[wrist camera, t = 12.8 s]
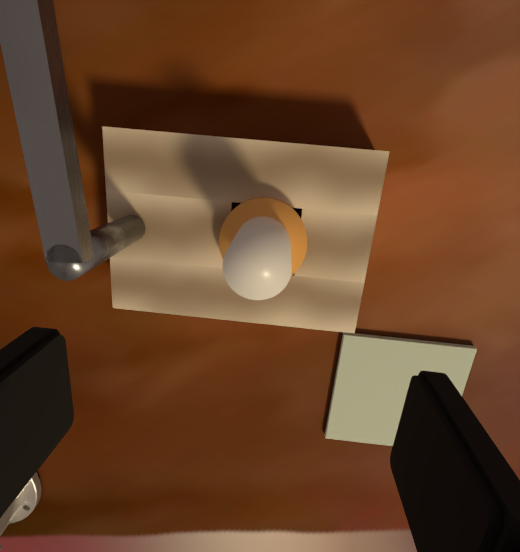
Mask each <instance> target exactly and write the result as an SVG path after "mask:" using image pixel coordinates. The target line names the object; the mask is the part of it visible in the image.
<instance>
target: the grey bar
mask: <svg viewBox="0 0 520 552" xmlns="http://www.w3.org/2000/svg"><path fill="white" fill-rule="evenodd" d="M0 44H1V48H2V53H3V58H4V63H5V68H6V72H7V77H8V82H9V87H10V92H11V96H12V101H13V106H14V111H15V116H16V120H17V125H18V130H19V135H20V140H21V144H22V149H23V154H24V159H25V164H26V168H27V173H28V178H29V183H30V188H31V193H32V197H33V202H34V207H35V212H36V217H37V221H38V226H39V231H40V236H41V241H42V245H43V250H44V255H45V260H46V264H47V267H48V269H49V270H50V272H51V273H52V274H53V275H54V276H56V277H57V278H59V279H61V280H65V281H71V280H74V279H76V278H78V277H80V276H81V275H83V274H84V273H86V272H88V271H89V270H91V269H93V268H94V267H96V266H97V265H99V264H101V263H102V262H104V261H106V260H107V259H109V258H110V257H112V256H114V255H115V254H117V253H119V252H120V251H122V250H123V249H125V248H127V247H128V246H130V245H131V244H133V243H135V242H136V241H138V240H140V239H141V238H142V237H143V236H144V234H145V230H146V229H145V224H144V222H143V221H142V220H141V219H140V218H139V217H138V216H136V215H126V216H124V217H122V218H119V219H117V220H114V221H112V222H110V223H107V224H105V225H102V226H100V227H98V228H95V229H93V230H90V228H89V222H88V215H87V209H86V203H85V197H84V191H83V184H82V178H81V172H80V166H79V160H78V154H77V147H76V141H75V135H74V129H73V123H72V116H71V110H70V104H69V98H68V92H67V85H66V79H65V73H64V67H63V61H62V55H61V48H60V42H59V36H58V30H57V24H56V17H55V11H54V5H53V0H0Z"/></svg>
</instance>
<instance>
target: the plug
mask: <svg viewBox="0 0 520 552" xmlns="http://www.w3.org/2000/svg"><path fill="white" fill-rule="evenodd" d="M219 247H220V252H221V256H222V258H223V274H224V278H225V280H226V282H227V284H228V285H229V286H230V288H231V289H232V290H233V291H234V292H236V293H237V294H238V295H240V296H242V297H244V298H247V299H250V300H265V299H269V298H272V297H274V296H276V295H277V294H279V293H280V292H281V291H282V290H283V289H284V288H285V287H286V285H287V284H288V282H289V280H290V277H291V276H292V275H293V274H294V273H295V272H296V271H297V270H298V269H299V267H300V266H301V264H302V262H303V260H304V258H305V255H306V251H307V234H306V230H305V226H304V224H303V221H302V219H301V217H300V216H299V215H298V213H297V212H296V211H295V210H294V209H293V208H292V207H291V206H290V205H288V204H287V203H285V202H283V201H281V200H279V199H275V198H271V197H256V198H252V199H249V200H246V201H244V202H242V203H241V204H239V205H238V206H237V207H235V208H234V209H233V210H232V211H231V213H230V214H229V215H228V216H227V218H226V219H225V221H224V223H223V225H222V227H221V231H220V235H219Z"/></svg>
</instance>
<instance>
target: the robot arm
mask: <svg viewBox="0 0 520 552" xmlns="http://www.w3.org/2000/svg"><path fill="white" fill-rule="evenodd" d="M73 419H74V411H73V402H72V394H71V385H70V377H69V368H68V359H67V351H66V342H65V338H64V336H62V335H60V333H59V331H58V330H56V329H50V328H41V327H33V328H31V329H29V330H28V331H26V332H25V333H23V334H22V335H21V336H19V337H18V338H16V339H15V340H13V341H12V342H11V343H9V344H8V345H6V346H5V347H4V348H2V349H1V350H0V535H1V534H2V533H3V531H4V530H5V529H6V527H7V526H8V525H9V523H14V522H17V521H20V520H22V519H24V518H26V517H27V516H28V515H29V514H30V513H31V512H32V511H33V510H34V508H35V507H36V505H37V504H38V502H39V500H40V497H41V490H42V489H41V483H40V479H39V477H38V474H37V470H38V469H39V468H40V466H41V465H42V464H43V463H44V461H45V460H46V459H47V457H48V456H49V455H50V454H51V452H52V451H53V450H54V448H55V447H56V446H57V444H58V443H59V442H60V441H61V439H62V438H63V437H64V435H65V434H66V433H67V432H68V430H69V429H70V427H71V425H72V423H73ZM390 464H391V469H392V473H393V476H394V479H395V482H396V485H397V489H398V492H399V495H400V498H401V501H402V505H403V508H404V511H405V514H406V517H407V520H408V524H409V527H410V530H411V533H412V536H413V539H414V542H415V546H416V549H417V552H520V480H519V479H518V477H517V476H516V474H515V473H514V471H513V470H512V469H511V467H510V466H509V464H508V463H507V461H506V460H505V458H504V457H503V455H502V454H501V453H500V451H499V450H498V448H497V447H496V445H495V444H494V442H493V441H492V439H491V438H490V437H489V435H488V434H487V432H486V431H485V429H484V428H483V426H482V425H481V424H480V422H479V421H478V419H477V418H476V416H475V415H474V413H473V412H472V410H471V409H470V408H469V406H468V405H467V403H466V402H465V400H464V399H463V397H462V396H461V394H460V393H459V392H458V390H457V389H456V387H455V386H454V384H453V383H452V381H451V380H450V379H449V377H448V376H447V375H446V374H445V373H440V372H431V371H420V373H419V374H418V376H416V375H414V376H412V378H411V380H410V384H409V388H408V391H407V395H406V399H405V403H404V406H403V410H402V414H401V418H400V421H399V425H398V429H397V432H396V436H395V440H394V444H393V447H392V451H391V456H390ZM0 549H1V546H0Z"/></svg>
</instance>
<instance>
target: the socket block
mask: <svg viewBox="0 0 520 552" xmlns="http://www.w3.org/2000/svg"><path fill="white" fill-rule="evenodd" d="M102 131H103V148H104V165H105V182H106V200H107V217H108V223H110V222H112V221H114V220H117V219H119V218H122V217H124V216H126V215H136V216H138V217H139V218H140V219H141V220H142V221H143V222H144V224H145V229H146V230H145V234H144V236H143V237H142V238H141V239H140V240H138V241H136V242H135V243H133V244H131V245H130V246H128V247H127V248H125V249H123V250H122V251H120V252H119V253H117V254H115V255H114V256H112V257H110V269H111V286H112V303H113V308H118V309H128V310H137V311H147V312H156V313H166V314H175V315H185V316H194V317H204V318H213V319H222V320H232V321H241V322H251V323H260V324H270V325H279V326H289V327H298V328H308V329H317V330H327V331H336V332H346V333H355V328H356V323H357V318H358V313H359V307H360V302H361V297H362V292H363V287H364V281H365V276H366V271H367V266H368V260H369V255H370V250H371V245H372V240H373V234H374V229H375V224H376V219H377V214H378V208H379V203H380V198H381V193H382V188H383V182H384V177H385V172H386V167H387V161H388V156H389V151H378V150H366V149H355V148H344V147H332V146H321V145H309V144H298V143H286V142H275V141H264V140H252V139H241V138H229V137H218V136H207V135H195V134H184V133H172V132H161V131H149V130H138V129H127V128H115V127H104V126H102ZM256 197H271V198H275V199H279V200H281V201H283V202H285V203H287V204H288V205H290V206H291V207H292V208H299V216H300V217H301V219H302V221H303V224H304V226H305V230H306V234H307V251H306V255H305V258H304V260H303V262H302V264H301V266H300V267H299V269H298V270H297V271H296V272H295V273H294V274H293V275H292V276H291V277H290V280H289V282H288V284H287V285H286V287H285V288H284V289H283V290H282V291H281V292H280V293H279V294H277V295H276V296H274V297H272V298H269V299H265V300H250V299H247V298H244V297H242V296H240V295H238V294H237V293H236V292H234V291H233V290H232V289H231V288H230V286H229V285H228V284H227V282H226V280H225V278H224V274H223V258H222V256H221V252H220V247H219V235H220V231H221V227H222V225H223V223H224V221H225V219H226V218H227V216H228V215H229V214H230V213H231V211H232V210H233V209H234V208H235V207H237V206H238V203H242V202H244V201H246V200H249V199H252V198H256Z"/></svg>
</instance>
